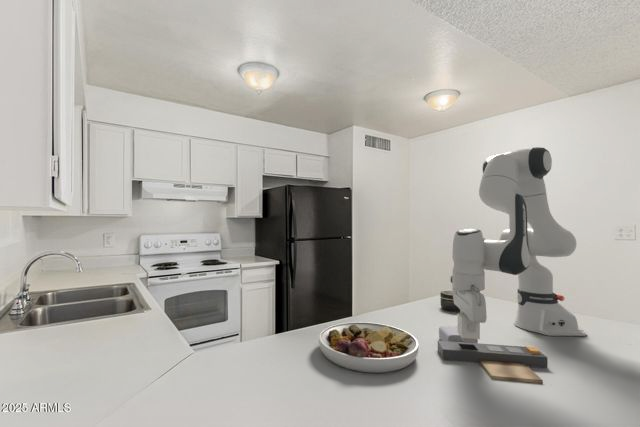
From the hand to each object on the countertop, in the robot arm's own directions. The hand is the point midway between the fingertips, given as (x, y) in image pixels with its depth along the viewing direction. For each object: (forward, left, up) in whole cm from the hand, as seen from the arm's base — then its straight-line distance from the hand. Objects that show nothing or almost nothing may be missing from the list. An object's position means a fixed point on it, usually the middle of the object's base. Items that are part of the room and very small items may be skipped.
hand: (468, 328), depth 94 cm
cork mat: (-8, +9, -9) cm, 14 cm away
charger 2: (0, 0, -4) cm, 4 cm away
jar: (-9, -55, -9) cm, 56 cm away
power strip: (-6, 0, -9) cm, 10 cm away
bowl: (+30, +3, -9) cm, 32 cm away
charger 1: (+1, -13, -9) cm, 16 cm away
